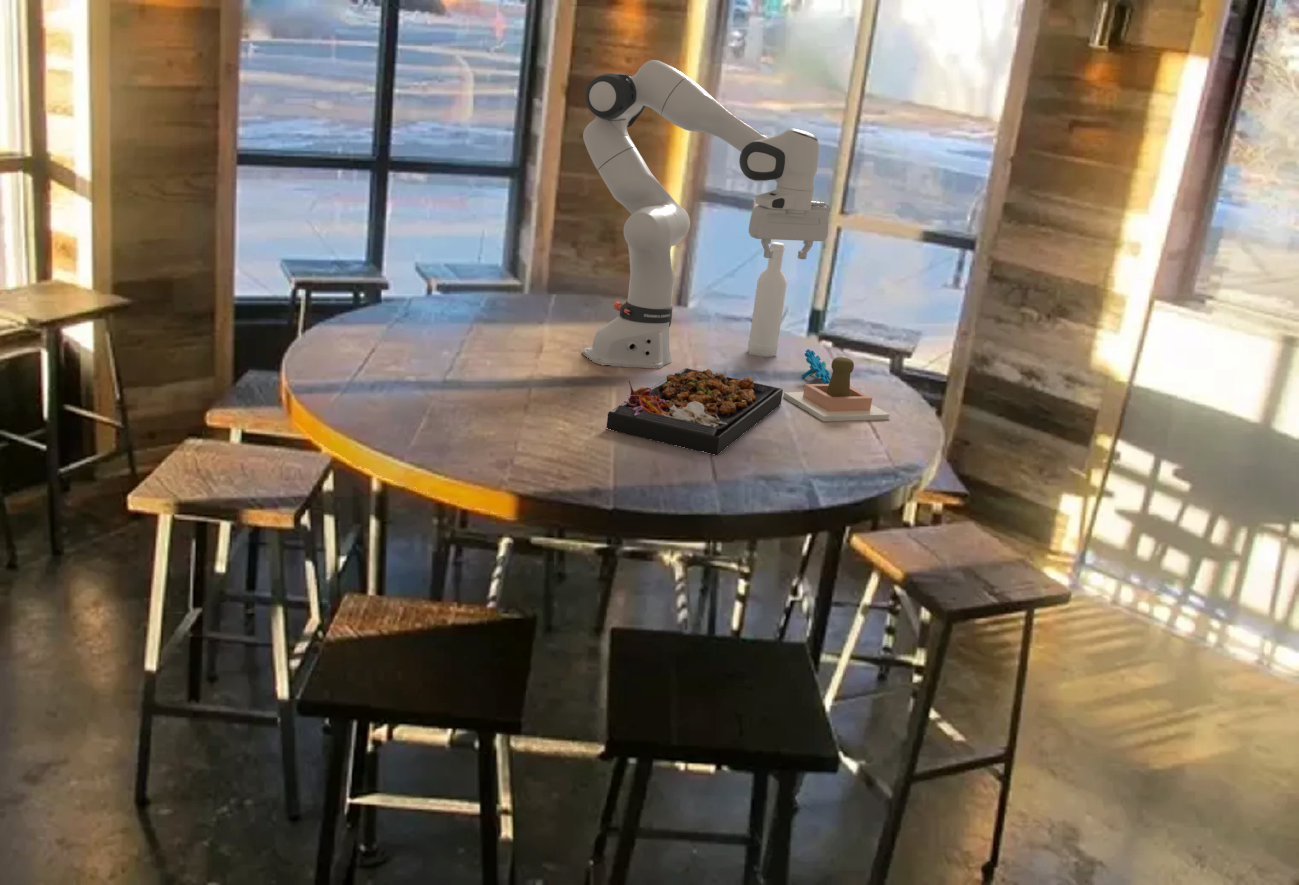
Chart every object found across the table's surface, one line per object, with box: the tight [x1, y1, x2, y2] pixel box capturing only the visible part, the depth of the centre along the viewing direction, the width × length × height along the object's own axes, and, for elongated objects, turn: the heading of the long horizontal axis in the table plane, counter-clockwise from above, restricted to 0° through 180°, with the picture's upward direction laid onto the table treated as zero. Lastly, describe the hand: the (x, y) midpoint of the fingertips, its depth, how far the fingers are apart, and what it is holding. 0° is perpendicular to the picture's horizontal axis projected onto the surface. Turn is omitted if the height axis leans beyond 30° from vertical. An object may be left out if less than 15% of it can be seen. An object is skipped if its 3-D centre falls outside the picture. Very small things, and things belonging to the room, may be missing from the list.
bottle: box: [747, 241, 788, 358], centre depth 327 cm, size 8×8×30 cm
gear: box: [801, 348, 831, 384], centre depth 311 cm, size 11×6×10 cm
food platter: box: [606, 367, 784, 456], centre depth 270 cm, size 45×25×10 cm, turn 158°
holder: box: [783, 383, 891, 422], centre depth 288 cm, size 18×18×4 cm
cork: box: [826, 356, 855, 397], centre depth 287 cm, size 6×6×11 cm
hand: (784, 258), depth 294 cm, fingers open, 8 cm apart
